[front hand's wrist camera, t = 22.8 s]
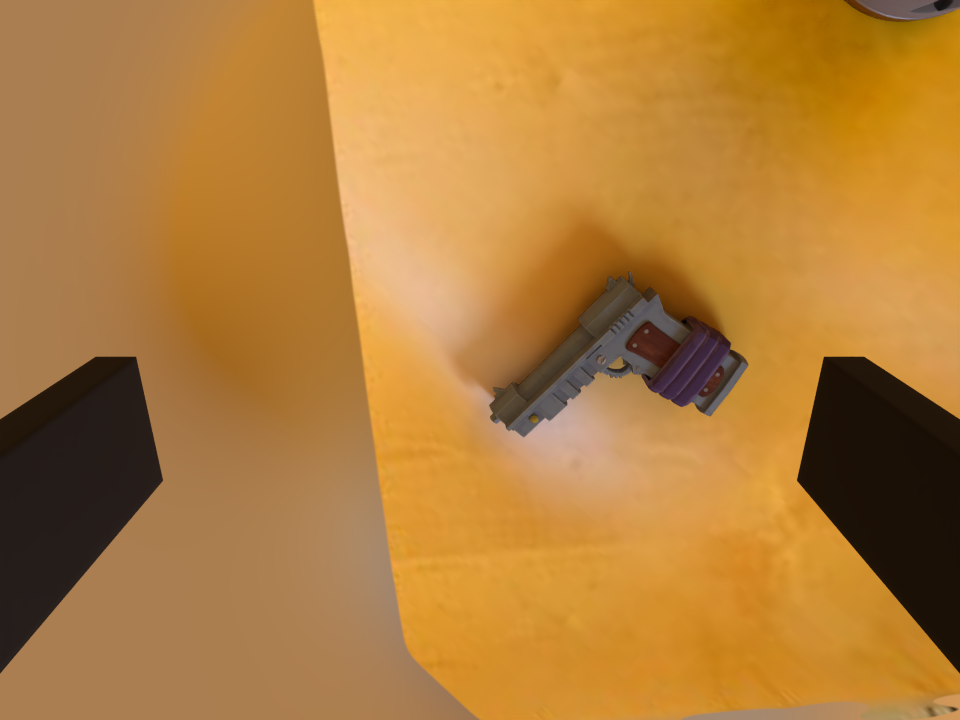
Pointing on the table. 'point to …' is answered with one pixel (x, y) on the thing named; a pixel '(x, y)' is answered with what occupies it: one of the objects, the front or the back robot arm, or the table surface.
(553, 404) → the toy gun
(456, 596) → the table surface
